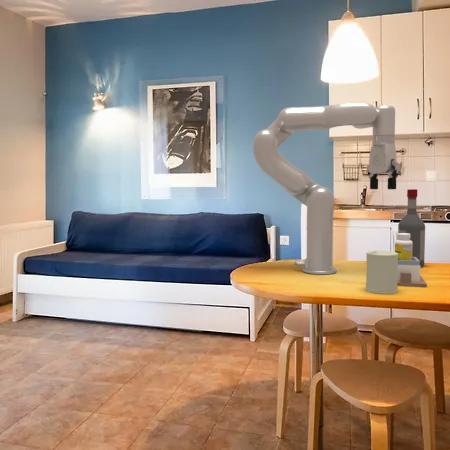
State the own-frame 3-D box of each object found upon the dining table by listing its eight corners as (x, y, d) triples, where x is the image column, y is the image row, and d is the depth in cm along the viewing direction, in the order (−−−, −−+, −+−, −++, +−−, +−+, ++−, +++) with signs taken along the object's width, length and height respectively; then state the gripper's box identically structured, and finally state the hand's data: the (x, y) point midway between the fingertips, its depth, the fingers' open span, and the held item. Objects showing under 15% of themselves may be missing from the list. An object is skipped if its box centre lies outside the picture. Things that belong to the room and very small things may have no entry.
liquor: (421, 264, 180) (423, 189, 177) (425, 268, 171) (427, 189, 168) (396, 263, 182) (398, 189, 179) (399, 267, 173) (401, 189, 171)
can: (360, 287, 140) (361, 249, 139) (389, 286, 140) (390, 248, 139) (372, 294, 131) (373, 253, 130) (403, 293, 131) (404, 253, 130)
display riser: (386, 285, 142) (386, 262, 142) (382, 275, 158) (382, 254, 157) (426, 287, 139) (427, 263, 138) (419, 277, 154) (419, 255, 154)
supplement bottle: (392, 261, 151) (392, 232, 150) (408, 261, 151) (408, 232, 150) (398, 264, 145) (399, 234, 144) (414, 264, 145) (415, 234, 144)
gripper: (359, 143, 167) (359, 189, 169) (391, 138, 151) (390, 189, 152) (376, 143, 170) (375, 189, 171) (409, 139, 153) (408, 189, 155)
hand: (382, 189), depth 162 cm, fingers open, 9 cm apart
